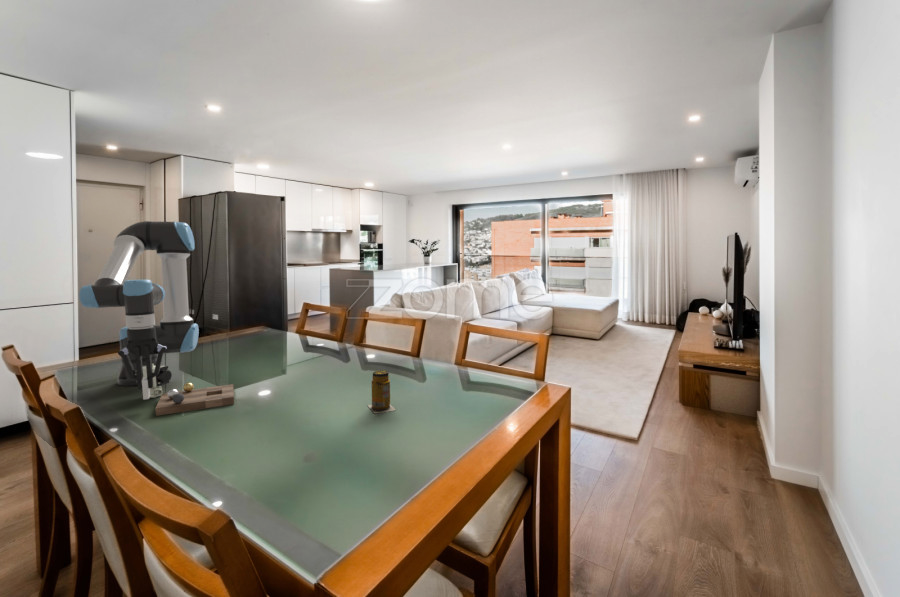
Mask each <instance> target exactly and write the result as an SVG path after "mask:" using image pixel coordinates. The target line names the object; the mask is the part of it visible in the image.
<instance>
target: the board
mask: <svg viewBox="0 0 900 597" xmlns="http://www.w3.org/2000/svg"><path fill="white" fill-rule="evenodd" d="M234 391H235V389H234V384H233V383H232V384H224V385H217V386H210V387H209V386H208V387H204V388H193V390H192V391H190V392H186V391H184V390H181V391H180V390H179V391H178V392H179V393H181V394H183V396H184V400H183V401H182V402H181V403H174V402H173V400H172V399H170V398H169V397H168V396H167V393H168V392H165V393H164V392H163V393H162V395H161V396H160V397H159V400H158V402H157V404H156V406H155V416H157V417H158V416H162V415H163V416H164V415H170V414H177V413H184V412H190V411H196V410H197V411H198V410H202V409H203V410H205V409H209V408H210V409H211V408H217V407H224V406H229V405H234V404H235V394H234V393H235V392H234Z"/></svg>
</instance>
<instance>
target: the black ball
mask: <svg viewBox="0 0 900 597" xmlns="http://www.w3.org/2000/svg"><path fill="white" fill-rule="evenodd" d="M172 400H173V402H174V403H181V402H182V401H183V400H184V396H183V394H181V393H177V394H175V395H174V396H173V398H172Z"/></svg>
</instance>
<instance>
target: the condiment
mask: <svg viewBox="0 0 900 597" xmlns="http://www.w3.org/2000/svg"><path fill="white" fill-rule="evenodd" d="M389 374H390V373H389V371H387V370H383V369H382V370H375V371H373V373H372V380H371V404H367V406H368V408H369V409H370V410H371V412H372V413H373V414H382V413H383V414H384V413H389V412H393V411H396V408H395V407H394V406H392V405H391V380H390V379H389V378H390V377H389Z"/></svg>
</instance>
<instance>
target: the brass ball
mask: <svg viewBox="0 0 900 597" xmlns="http://www.w3.org/2000/svg"><path fill="white" fill-rule="evenodd" d="M194 386H195V385H194V384H193V383H192V382H186V383H184V385H183V387H182V389H183V391H186V392H190V391H192V390H193V389H195V387H194Z"/></svg>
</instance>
